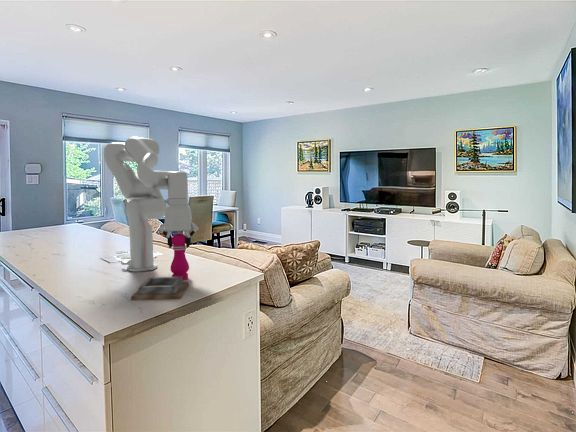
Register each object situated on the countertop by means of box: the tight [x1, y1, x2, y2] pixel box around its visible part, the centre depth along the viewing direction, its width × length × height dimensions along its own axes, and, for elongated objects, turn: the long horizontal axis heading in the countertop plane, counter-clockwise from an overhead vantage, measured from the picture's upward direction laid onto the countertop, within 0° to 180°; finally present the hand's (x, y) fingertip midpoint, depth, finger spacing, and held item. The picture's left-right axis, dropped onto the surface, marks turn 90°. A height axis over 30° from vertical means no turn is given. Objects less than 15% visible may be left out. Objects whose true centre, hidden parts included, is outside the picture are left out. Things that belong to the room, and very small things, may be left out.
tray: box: [114, 250, 166, 261], centre depth 182 cm, size 20×28×4 cm
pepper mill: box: [170, 231, 190, 281], centre depth 141 cm, size 7×7×20 cm
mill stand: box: [130, 276, 190, 301], centre depth 125 cm, size 16×16×4 cm
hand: (179, 246), depth 141 cm, fingers closed on pepper mill, 6 cm apart
